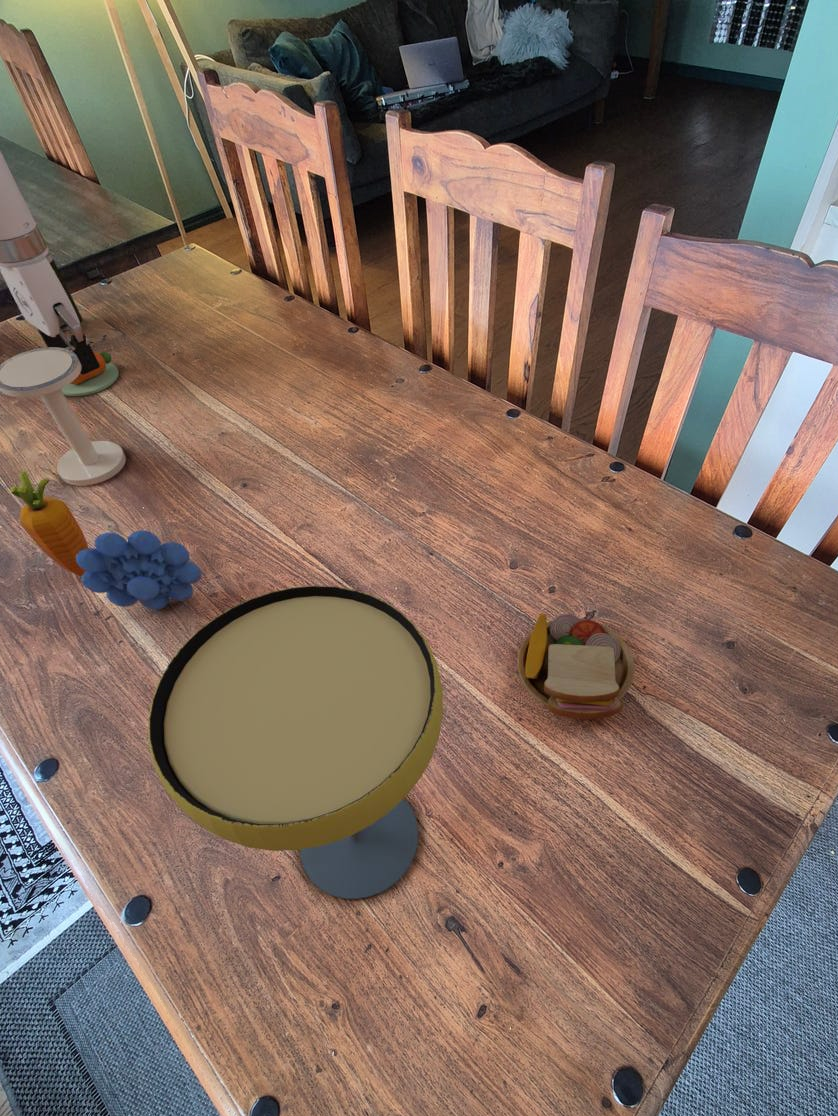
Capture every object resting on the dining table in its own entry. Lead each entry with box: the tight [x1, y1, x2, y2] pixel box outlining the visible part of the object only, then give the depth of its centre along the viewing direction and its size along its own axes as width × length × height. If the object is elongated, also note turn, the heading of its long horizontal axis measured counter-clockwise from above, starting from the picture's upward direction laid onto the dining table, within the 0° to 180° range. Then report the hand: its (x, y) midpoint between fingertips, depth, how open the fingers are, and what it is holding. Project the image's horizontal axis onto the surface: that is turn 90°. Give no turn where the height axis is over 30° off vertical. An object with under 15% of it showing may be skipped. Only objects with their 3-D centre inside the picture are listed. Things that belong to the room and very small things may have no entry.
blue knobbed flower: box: [76, 529, 202, 611], centre depth 73 cm, size 12×7×12 cm, turn 112°
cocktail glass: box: [147, 585, 444, 900], centre depth 51 cm, size 18×18×25 cm
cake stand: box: [0, 346, 127, 487], centre depth 89 cm, size 10×10×15 cm
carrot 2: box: [70, 350, 112, 384], centre depth 107 cm, size 8×4×4 cm
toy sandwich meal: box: [516, 613, 635, 720], centre depth 70 cm, size 12×14×5 cm
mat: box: [61, 362, 120, 397], centre depth 108 cm, size 10×10×1 cm
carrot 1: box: [10, 471, 89, 577], centre depth 75 cm, size 5×5×15 cm
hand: (75, 359), depth 106 cm, fingers open, 9 cm apart
